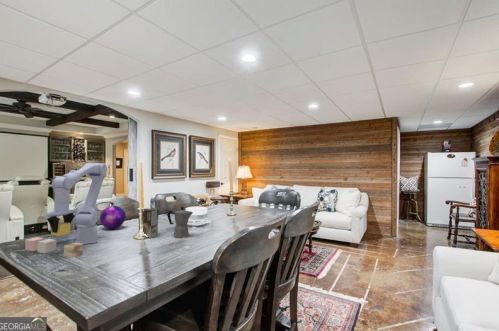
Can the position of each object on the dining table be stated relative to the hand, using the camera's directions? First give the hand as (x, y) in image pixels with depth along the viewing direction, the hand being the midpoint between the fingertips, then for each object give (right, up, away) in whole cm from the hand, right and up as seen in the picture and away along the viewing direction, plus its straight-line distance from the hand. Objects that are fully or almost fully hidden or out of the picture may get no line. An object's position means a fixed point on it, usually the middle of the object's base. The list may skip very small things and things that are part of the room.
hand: (60, 231), depth 118 cm
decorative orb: (-2, -11, +48) cm, 49 cm away
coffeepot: (+46, -13, +35) cm, 59 cm away
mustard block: (0, -1, 0) cm, 1 cm away
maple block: (+8, -11, -2) cm, 13 cm away
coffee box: (+28, -12, +33) cm, 45 cm away
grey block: (-8, -10, +2) cm, 13 cm away
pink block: (-16, -10, +4) cm, 19 cm away
